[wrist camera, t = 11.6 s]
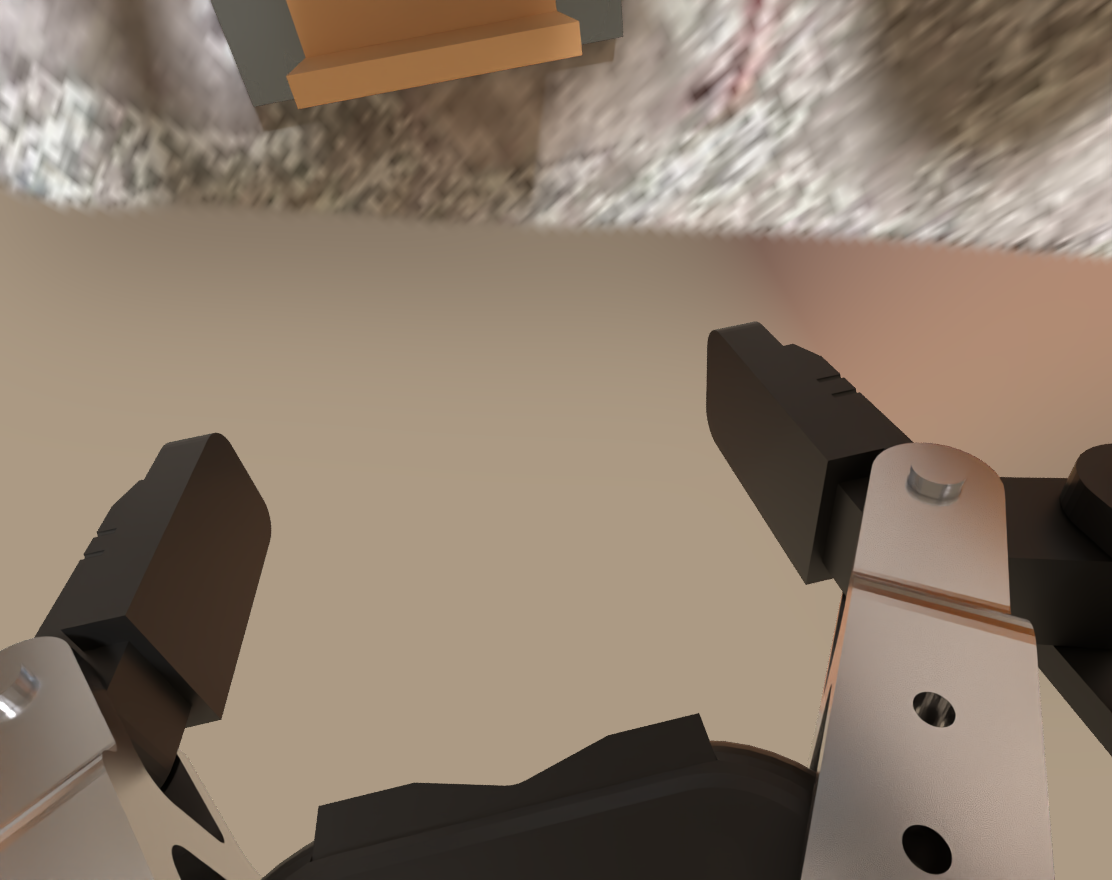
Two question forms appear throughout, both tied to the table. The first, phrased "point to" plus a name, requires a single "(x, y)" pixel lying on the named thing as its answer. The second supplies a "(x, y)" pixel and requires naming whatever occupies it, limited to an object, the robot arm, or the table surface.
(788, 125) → the table surface
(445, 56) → the press bed carriage
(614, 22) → the press frame
